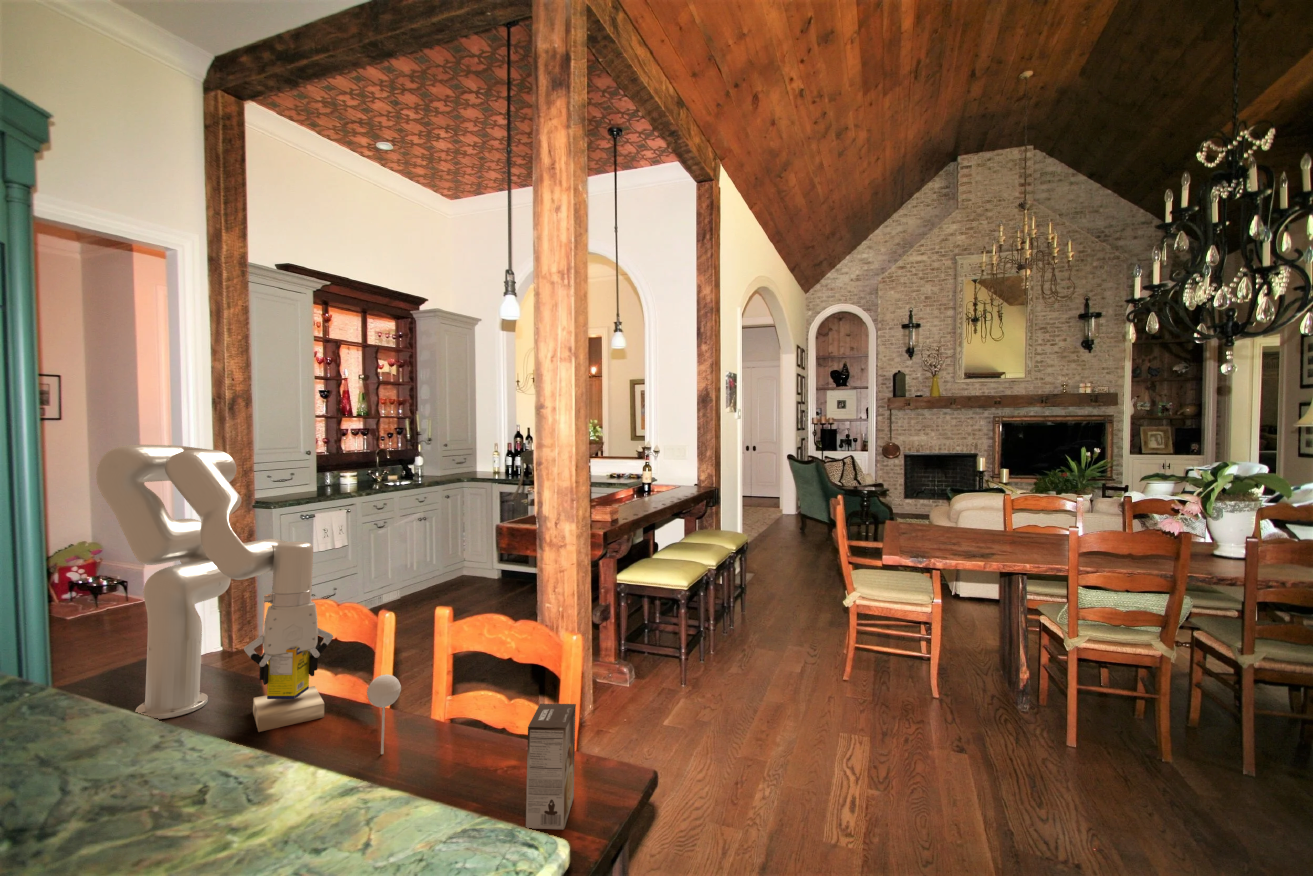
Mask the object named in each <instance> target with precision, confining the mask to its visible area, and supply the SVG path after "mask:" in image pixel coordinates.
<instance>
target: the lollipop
mask: <svg viewBox="0 0 1313 876" xmlns="http://www.w3.org/2000/svg"><path fill="white" fill-rule="evenodd" d="M401 691H402V685H401V683H400V681H399V679H398V678H397V677H396V676H394V675H393V674H381V675H378V676H377V677H375V678H374V679H373V680H372V681H371V682H370V683H369V685H368V687H367V691H366V694H367V699H368V701H369V703H370V704H372V706H374V707H377V708H381V709H382V711H381V736H380V737H381V740H380V741H381V743H380V744H381V745H380V755H384V752H385V751H384V750H385V749H384V748H385V746H384V745H385V743H384V742H385V718H386V716H385V714H386V711H385V710H386V707H389V706H391V705H393V704H395V702H396V701H397V700H398V698H399V697H400V694H401Z"/></svg>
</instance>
